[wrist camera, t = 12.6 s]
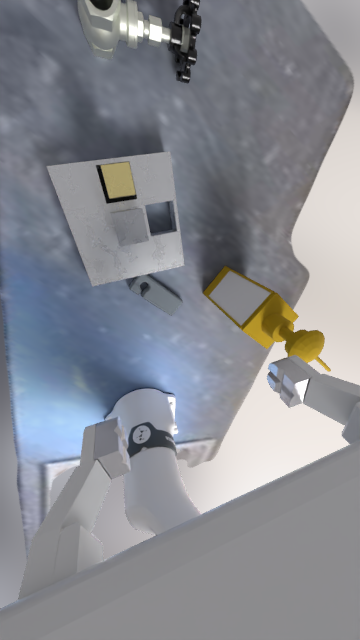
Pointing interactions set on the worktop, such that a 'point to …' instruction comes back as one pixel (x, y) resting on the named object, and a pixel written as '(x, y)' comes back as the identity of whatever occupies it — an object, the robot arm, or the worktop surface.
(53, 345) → the worktop surface
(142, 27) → the valve
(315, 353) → the soap bottle
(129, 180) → the yellow rectangular block
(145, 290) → the bracket
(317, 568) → the robot arm
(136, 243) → the square plinth with cube
